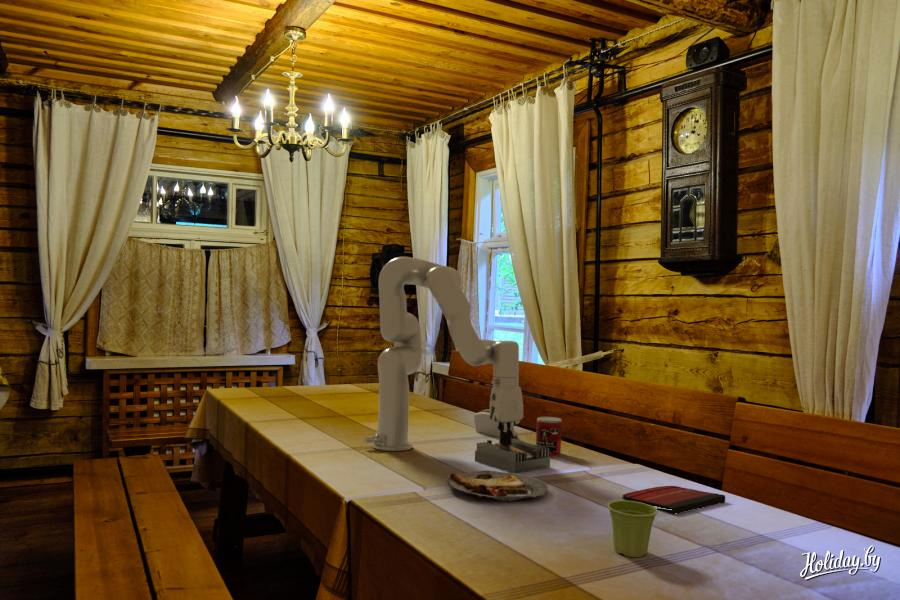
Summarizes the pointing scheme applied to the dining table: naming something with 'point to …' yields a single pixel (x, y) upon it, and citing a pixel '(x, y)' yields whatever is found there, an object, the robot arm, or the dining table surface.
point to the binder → (675, 498)
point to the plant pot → (631, 526)
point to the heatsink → (513, 456)
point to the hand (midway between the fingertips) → (505, 444)
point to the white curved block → (488, 424)
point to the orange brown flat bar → (510, 448)
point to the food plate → (497, 485)
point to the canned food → (549, 434)
